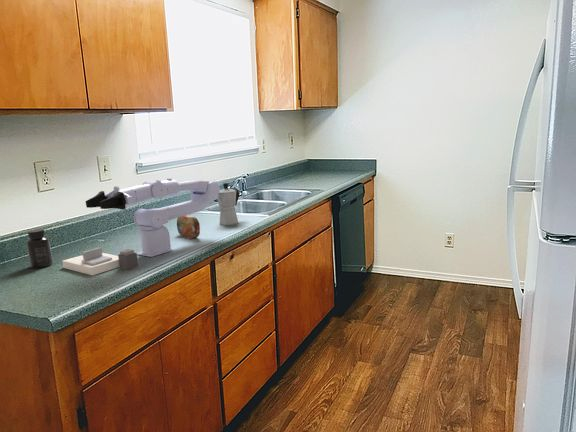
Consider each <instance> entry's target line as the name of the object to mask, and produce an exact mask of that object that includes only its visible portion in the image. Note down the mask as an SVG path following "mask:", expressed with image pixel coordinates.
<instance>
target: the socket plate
mask: <svg viewBox="0 0 576 432" xmlns="http://www.w3.org/2000/svg"><path fill="white" fill-rule="evenodd" d="M102 255H103V256H107V257H112V260H109V261H105V262H102V263H99V264H95V265H91V264H87V263H82V261H81V260H83V254H82V255H78V256H75V257H71V258H68V259H64V260H62V268H63V269H67V270H70V271H74V272H78V273H82V274H86V275H89V276H95V275H97V274H101V273H105V272H107V271H111V270H113V269H114V270H115V269H117V268H120V266H119V258H118V255H115V254H110V253H106V252H105V253H104V252H102Z"/></svg>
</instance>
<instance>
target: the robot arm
mask: <svg viewBox="0 0 576 432" xmlns="http://www.w3.org/2000/svg"><path fill="white" fill-rule="evenodd" d="M220 190H221V188H220V185H219V183H218V182H217V181H215V180H214V181H213V180H212V181H209V180H196V179H194V180H193V179H192V180H186V181H181V182H178V181H177V180H176V179H173V178H171V177H170V178H166V180H161V179H156V180H155V181H144V182H142V184H137V185H133V186H128V187H124V188H120V187H119V186H113V190H112V191H110V192H108V193H107V194H106V193H105V191H103V190H101V191H99V192H97V194H96V195H95V196H92V197H91V198H88V199H87V200H86V201H85V206H86V208H90V209H92V208H100V209H101V210H109V209H118V210H125V211H126V206H131V205H134V204H138V203H142V202H145V201H148V200H151V199H157V200H158V199H159V200H161V199H163V198H165V197H167V198H168V197H173V196H176V195H177V196H178V194H179V193H180V192H184V191H185V192H186V191H187V192H188V191H190V192H191V195H190V200H187V201H181V202H179V203H175V204H170V205H166V206H163V207H158V208H149V209H146V208H139V209H137V210H136V211H135V212H134V214H133V222H134V224H135V225H136V226H138V229H139V235H140V237H139V238H140V244H141V251H139V252H136V253H137V256H138V255H139V256H144V257H149V258H153V257H156V256H159V255H163V254H165V253H168V252H171V251H173V248H172V246H171V237H170V232H169V229H168V228H167V226H165V224H168V223H169V221H170V220H174V219H175V220H176V219H178V217H182V216H185V215H186V216H189V215H191V214H195V213H199V212H202V211H204V210H205V209H206V208H207V207H208V206H209V205H211V203H212V202H214V201H215V200H218V198H217V197H218V195H219V192H220Z"/></svg>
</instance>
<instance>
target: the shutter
mask: <svg viewBox="0 0 576 432" xmlns="http://www.w3.org/2000/svg"><path fill="white" fill-rule="evenodd" d="M81 253H82V255H83V260H81V261H82V263H87V264H91V265H95V264H99V263H102V262H105V261H109V260H112V257H107V256H103V255H102V253H103V249H102V247H96V248H91V249H89V250H85V251H82V252H81Z"/></svg>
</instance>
